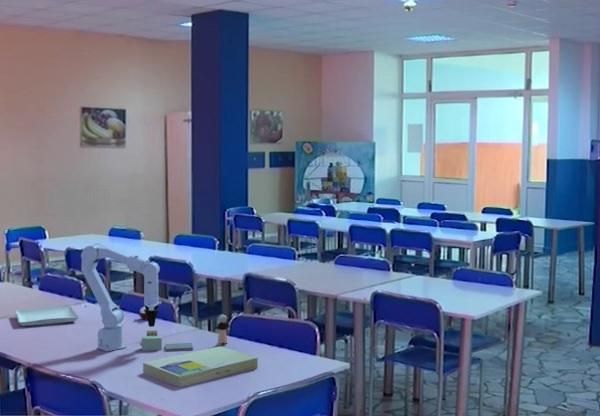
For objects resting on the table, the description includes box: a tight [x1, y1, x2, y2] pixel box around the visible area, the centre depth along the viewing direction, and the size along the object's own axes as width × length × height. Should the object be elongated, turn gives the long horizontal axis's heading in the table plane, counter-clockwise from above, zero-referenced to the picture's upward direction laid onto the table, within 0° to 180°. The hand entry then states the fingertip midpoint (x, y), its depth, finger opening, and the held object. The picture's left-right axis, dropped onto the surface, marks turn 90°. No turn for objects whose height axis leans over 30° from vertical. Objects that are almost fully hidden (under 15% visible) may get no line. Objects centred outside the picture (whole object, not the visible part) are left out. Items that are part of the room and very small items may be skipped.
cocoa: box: [138, 306, 147, 320], centre depth 364 cm, size 10×6×12 cm, turn 44°
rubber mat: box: [164, 342, 194, 352], centre depth 310 cm, size 11×8×1 cm
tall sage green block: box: [141, 335, 163, 352], centre depth 308 cm, size 8×4×5 cm, turn 101°
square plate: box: [14, 306, 80, 327], centre depth 361 cm, size 27×27×4 cm
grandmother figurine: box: [214, 314, 231, 346], centre depth 317 cm, size 8×4×13 cm, turn 143°
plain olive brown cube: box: [146, 330, 158, 336], centre depth 320 cm, size 5×4×4 cm
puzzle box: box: [142, 346, 259, 388], centre depth 278 cm, size 36×5×24 cm
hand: (151, 324), depth 308 cm, fingers open, 7 cm apart
